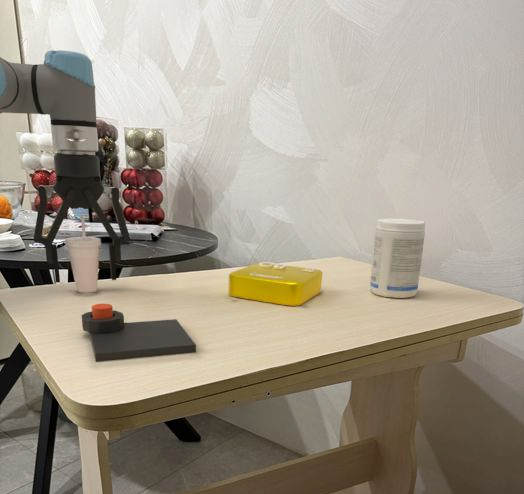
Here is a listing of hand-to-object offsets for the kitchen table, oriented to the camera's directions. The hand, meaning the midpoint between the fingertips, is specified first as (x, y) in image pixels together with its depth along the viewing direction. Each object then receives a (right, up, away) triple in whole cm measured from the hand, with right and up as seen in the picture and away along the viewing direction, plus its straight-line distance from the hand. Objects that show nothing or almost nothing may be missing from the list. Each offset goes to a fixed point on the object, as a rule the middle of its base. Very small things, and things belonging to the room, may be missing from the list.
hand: (86, 279), depth 99 cm
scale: (+16, -12, -25) cm, 32 cm away
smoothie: (0, -2, +1) cm, 2 cm away
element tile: (+36, -2, +5) cm, 36 cm away
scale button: (+10, -9, -24) cm, 28 cm away
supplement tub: (+60, -2, +9) cm, 61 cm away
